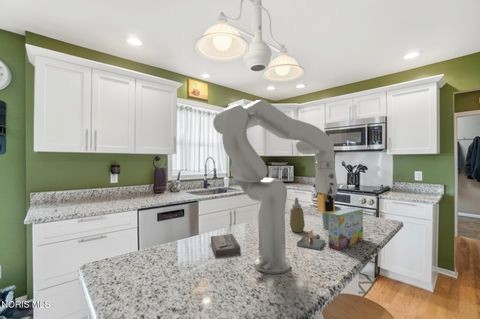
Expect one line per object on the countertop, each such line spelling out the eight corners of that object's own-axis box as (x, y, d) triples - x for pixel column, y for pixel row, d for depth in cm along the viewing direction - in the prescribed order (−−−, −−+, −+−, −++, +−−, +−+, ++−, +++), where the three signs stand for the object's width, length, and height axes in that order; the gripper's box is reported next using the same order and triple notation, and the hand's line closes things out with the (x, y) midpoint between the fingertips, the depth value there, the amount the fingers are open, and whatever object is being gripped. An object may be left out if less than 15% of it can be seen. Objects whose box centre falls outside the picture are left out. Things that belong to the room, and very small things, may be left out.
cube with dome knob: (334, 212, 93) (334, 192, 93) (323, 213, 92) (322, 192, 92) (328, 210, 98) (327, 191, 98) (317, 210, 97) (317, 191, 97)
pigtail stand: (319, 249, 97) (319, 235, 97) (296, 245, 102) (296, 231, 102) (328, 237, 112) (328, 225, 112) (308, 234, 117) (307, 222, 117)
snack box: (340, 250, 95) (339, 214, 96) (328, 247, 100) (327, 212, 100) (364, 240, 108) (363, 208, 108) (352, 237, 113) (351, 206, 113)
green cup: (322, 230, 125) (321, 208, 125) (321, 225, 134) (320, 205, 135) (342, 231, 122) (341, 209, 122) (340, 226, 131) (339, 205, 132)
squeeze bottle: (306, 233, 120) (305, 198, 121) (291, 233, 120) (290, 199, 121) (302, 228, 128) (302, 196, 129) (288, 229, 128) (287, 196, 129)
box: (232, 239, 111) (232, 233, 111) (241, 254, 94) (241, 246, 94) (210, 242, 108) (210, 236, 108) (215, 258, 92) (215, 250, 92)
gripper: (345, 166, 88) (346, 213, 87) (322, 166, 104) (323, 205, 104) (326, 166, 87) (328, 214, 86) (307, 166, 103) (308, 206, 103)
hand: (325, 209), depth 95 cm, fingers closed on cube with dome knob, 4 cm apart
